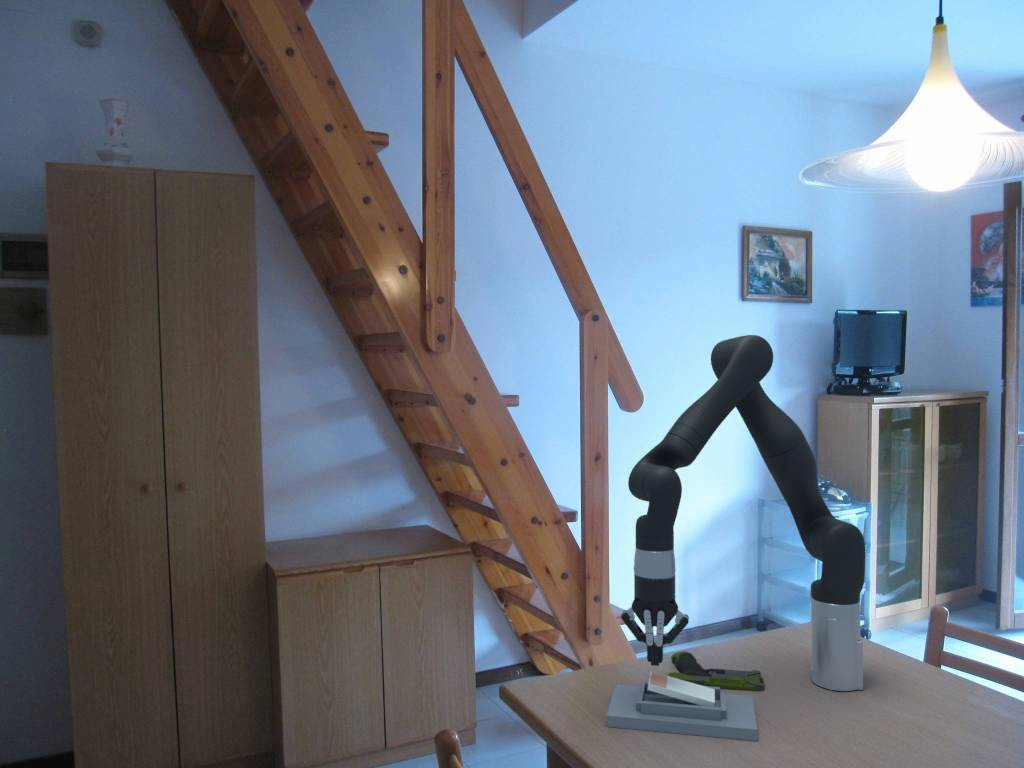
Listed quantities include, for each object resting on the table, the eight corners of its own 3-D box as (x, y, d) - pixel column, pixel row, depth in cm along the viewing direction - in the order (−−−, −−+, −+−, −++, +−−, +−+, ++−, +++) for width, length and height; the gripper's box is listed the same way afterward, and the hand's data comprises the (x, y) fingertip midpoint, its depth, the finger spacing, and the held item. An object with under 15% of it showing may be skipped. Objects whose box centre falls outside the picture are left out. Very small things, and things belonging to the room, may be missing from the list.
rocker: (713, 695, 145) (714, 688, 145) (713, 709, 139) (715, 701, 139) (649, 677, 148) (650, 670, 148) (647, 689, 142) (648, 682, 142)
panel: (752, 706, 147) (752, 685, 147) (757, 741, 134) (757, 718, 134) (615, 694, 154) (615, 674, 153) (606, 726, 140) (606, 704, 140)
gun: (757, 667, 168) (766, 697, 153) (668, 660, 172) (668, 689, 157) (757, 655, 168) (766, 685, 153) (668, 649, 172) (668, 677, 157)
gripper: (691, 568, 146) (691, 660, 147) (621, 564, 150) (621, 654, 150) (690, 579, 139) (690, 675, 139) (616, 574, 142) (617, 668, 143)
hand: (654, 664), depth 145 cm, fingers closed
